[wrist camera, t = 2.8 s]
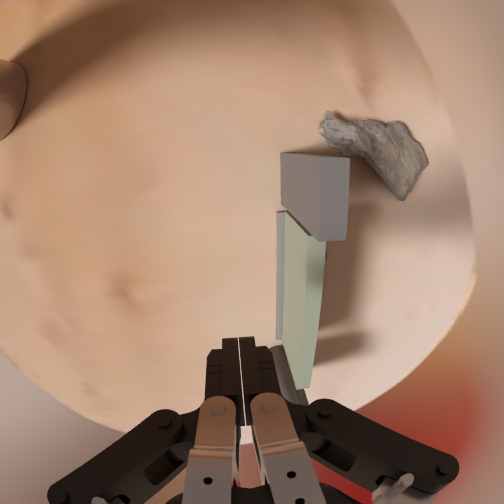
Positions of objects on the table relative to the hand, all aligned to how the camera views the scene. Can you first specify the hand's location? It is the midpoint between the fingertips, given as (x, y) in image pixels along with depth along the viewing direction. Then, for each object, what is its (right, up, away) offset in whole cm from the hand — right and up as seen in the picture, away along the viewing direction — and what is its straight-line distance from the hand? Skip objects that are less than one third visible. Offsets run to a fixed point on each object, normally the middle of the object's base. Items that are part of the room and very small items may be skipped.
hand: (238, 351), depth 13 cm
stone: (+12, +14, +10) cm, 21 cm away
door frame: (+4, +2, +14) cm, 14 cm away
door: (+5, +2, +13) cm, 14 cm away
